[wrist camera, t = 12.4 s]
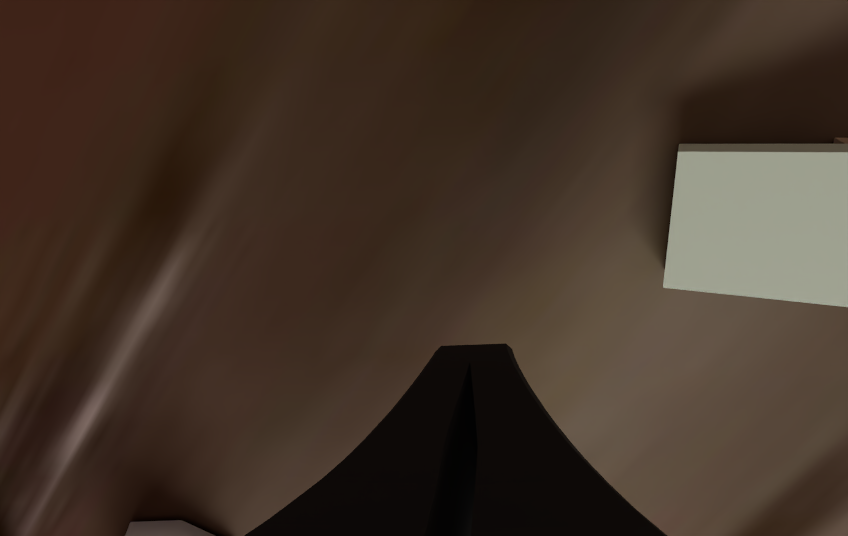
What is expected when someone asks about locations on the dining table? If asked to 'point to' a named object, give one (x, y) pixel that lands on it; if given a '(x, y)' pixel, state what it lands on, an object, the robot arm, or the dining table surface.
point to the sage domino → (761, 221)
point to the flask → (164, 529)
